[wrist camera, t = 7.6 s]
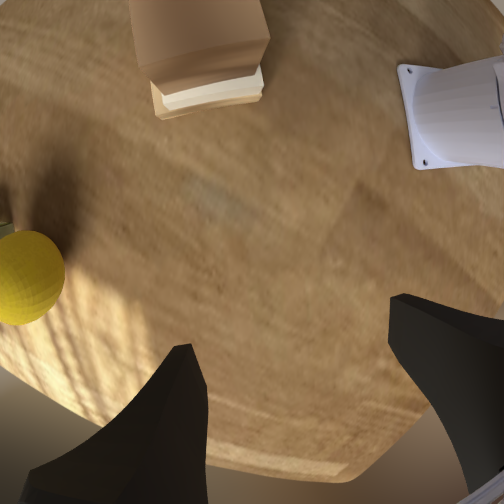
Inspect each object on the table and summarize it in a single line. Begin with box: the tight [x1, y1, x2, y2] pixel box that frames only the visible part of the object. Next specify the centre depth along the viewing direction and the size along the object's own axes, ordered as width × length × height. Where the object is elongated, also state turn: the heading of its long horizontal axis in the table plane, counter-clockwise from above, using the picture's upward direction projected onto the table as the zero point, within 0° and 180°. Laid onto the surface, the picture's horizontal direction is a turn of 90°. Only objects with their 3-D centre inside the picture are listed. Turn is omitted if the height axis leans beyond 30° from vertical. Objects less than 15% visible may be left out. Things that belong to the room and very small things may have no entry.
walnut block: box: [128, 0, 271, 96], centre depth 10 cm, size 4×4×5 cm
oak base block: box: [150, 81, 262, 120], centre depth 15 cm, size 6×6×2 cm
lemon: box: [0, 230, 65, 325], centre depth 14 cm, size 6×6×8 cm
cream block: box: [161, 63, 264, 110], centre depth 13 cm, size 5×5×2 cm
